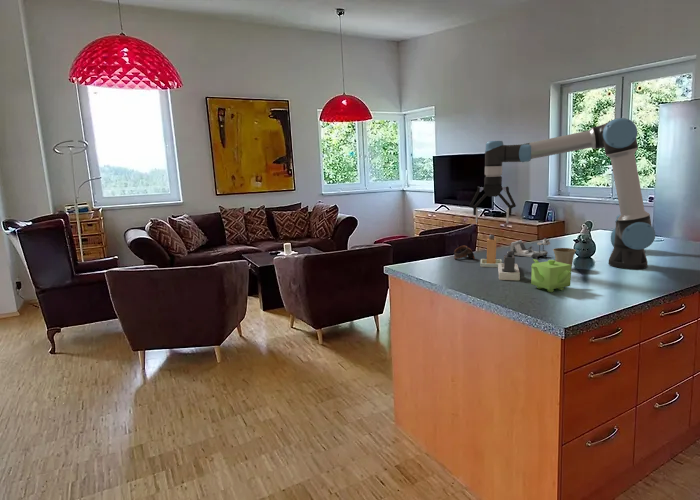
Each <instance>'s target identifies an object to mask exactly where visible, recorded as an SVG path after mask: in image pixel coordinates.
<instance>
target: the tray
mask: <svg viewBox="0 0 700 500" xmlns="http://www.w3.org/2000/svg"><path fill="white" fill-rule="evenodd" d="M498 263H503V260H502V259H501V258H498V259H497V258H496V264H489V263H487V258H480V263H479V265H480V268H498Z"/></svg>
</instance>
